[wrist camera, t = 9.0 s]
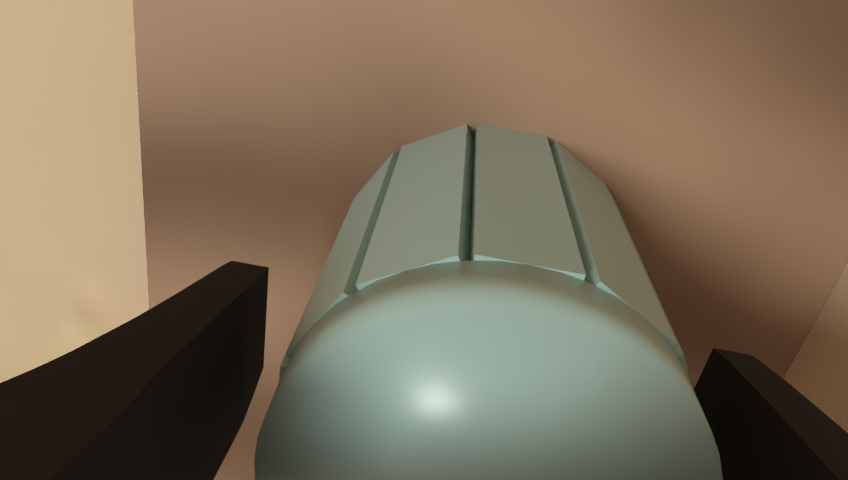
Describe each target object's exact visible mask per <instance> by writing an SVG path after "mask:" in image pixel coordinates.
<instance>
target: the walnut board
mask: <svg viewBox="0 0 848 480" xmlns="http://www.w3.org/2000/svg"><path fill="white" fill-rule="evenodd" d="M133 9H134V28H135V46H136V65H137V84H138V103H139V122H140V141H141V160H142V179H143V198H144V217H145V236H146V255H147V274H148V293H149V309H151V308H153V307H155V306H156V305H158V304H160V303H161V302H163V301H165V300H166V299H168V298H170V297H172V296H173V295H175V294H177V293H178V292H180V291H182V290H183V289H185V288H186V287H188V286H190V285H191V284H193V283H195V282H196V281H198V280H199V279H201V278H203V277H204V276H206V275H208V274H209V273H211V272H212V271H214V270H216V269H217V268H219V267H221V266H223V265H224V264H226V263H228V262H230V261H236V262H242V263H247V264H253V265H258V266H264V267H269V274H268V292H267V311H266V330H265V349H264V368H263V370H262V373H261V376H260V379H259V381H258V384H257V387H256V390H255V392H254V395H253V398H252V401H251V403H250V406H249V408H248V411H247V414H246V416H245V419H244V422H243V423H242V425H241V427H240V429H239V431H238V433H237V435H236V437H235V439H234V441H233V443H232V445H231V447H230V449H229V451H228V453H227V455H226V457H225V459H224V460H223V462H222V464H221V466H220V468H219V470H218V472H217V474H216V476H215V478H214V480H255V468H254V457H255V450H256V444H257V438H258V435H259V432H260V429H261V426H262V423H263V420H264V417H265V415H266V412H267V410H268V408H269V405H270V403H271V401H272V398H273V396H274V394H275V391H276V389H277V387H278V384H279V375H280V365H281V363H282V361H283V358H284V356H285V354H286V351H287V349H288V347H289V345H290V342H291V340H292V338H293V335H294V333H295V331H296V329H297V326H298V324H299V322H300V320H301V317H302V315H303V313H304V310H305V308H306V306H307V304H308V301H309V299H310V297H311V295H312V292H313V290H314V288H315V285H316V283H317V281H318V279H319V276H320V274H321V272H322V270H323V267H324V265H325V263H326V260H327V258H328V256H329V254H330V251H331V249H332V247H333V244H334V242H335V240H336V238H337V235H338V233H339V231H340V229H341V226H342V224H343V222H344V219H345V217H346V215H347V213H348V210H349V208H350V206H351V204H352V201H353V199H354V198H355V196H356V195H357V194H358V193H359V192H360V191H361V189H362V188H363V187H364V186H365V185H366V184H367V182H368V181H369V180H370V179H371V178H372V177H373V175H374V174H375V173H376V172H377V171H378V169H379V168H380V167H381V166H382V165H383V164H384V162H385V161H386V160H387V159H388V158H389V157H390V155H391V154H392V153H393V152H395V153H396V154H398V155H399V153H400V150H401V148H402V146H404V145H407V144H410V143H413V142H416V141H419V140H422V139H425V138H427V137H430V136H433V135H436V134H439V133H442V132H445V131H448V130H451V129H454V128H457V127H460V126H463V125H466V124H467V125H468V128H469V131H470V134H471V137H472V139H473V142H474V138H475V133H476V129H477V124H483V125H489V126H494V127H500V128H505V129H510V130H516V131H521V132H527V133H532V134H538V135H543V136H547V138H548V142H549V145H550V146H551V145H552V144H553V143H554V142H555V141H557V142H558V143H559V144H561V145H562V146H563V147H564V148H565V149H566V150H568V151H569V152H570V153H571V154H572V155H573V156H574V157H576V158H577V159H578V160H579V161H580V162H581V163H582V164H584V165H585V166H586V167H587V168H588V169H589V170H591V171H592V172H593V173H594V174H595V175H596V176H597V177H599V178H600V179H601V180H602V181H603V182H604V183H605V184H606V186H607V188H608V190H609V192H611V194H612V196H613V198H614V200H615V202H616V205H617V207H618V209H619V211H620V214H621V216H622V218H623V220H624V222H625V225H626V227H627V229H628V231H629V234H630V236H631V238H632V240H633V242H634V245H635V247H636V249H637V251H638V254H639V256H640V258H641V260H642V263H643V265H644V267H645V269H646V271H647V274H648V276H649V278H650V280H651V283H652V285H653V287H654V289H655V291H656V294H657V296H658V298H659V300H660V303H661V305H662V307H663V309H664V311H665V314H666V316H667V318H668V320H669V323H670V325H671V327H672V329H673V331H674V334H675V336H676V338H677V340H678V343H679V345H680V347H681V349H682V351H683V354H684V357H685V361H686V365H687V370H688V374H689V378H690V382H691V385H692V387H693V390H694V388H695V385H696V383H697V381H698V379H699V377H700V375H701V373H702V371H703V369H704V366H705V364H706V362H707V360H708V358H709V356H710V354H711V352H712V350H713V348H716V349H722V350H727V351H733V352H738V353H744V354H749V355H752V356H753V357H755V358H756V359H758V360H759V361H761V362H762V363H763V364H765V365H766V366H767V367H769V368H770V369H771V370H772V371H774V372H775V373H776V374H778V375H779V376H780V377H781V378H784V376H785V374H786V372H787V371H788V369H789V367H790V365H791V363H792V362H793V360H794V358H795V356H796V354H797V353H798V351H799V349H800V347H801V345H802V343H803V342H804V340H805V338H806V336H807V334H808V333H809V331H810V329H811V327H812V325H813V324H814V322H815V320H816V318H817V316H818V315H819V313H820V311H821V309H822V307H823V306H824V304H825V302H826V300H827V298H828V297H829V295H830V293H831V291H832V289H833V288H834V286H835V284H836V282H837V280H838V278H839V277H840V275H841V273H842V271H843V269H844V268H845V266H846V264H847V262H848V0H133Z"/></svg>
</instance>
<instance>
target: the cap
mask: <svg viewBox="0 0 848 480" xmlns="http://www.w3.org/2000/svg"><path fill="white" fill-rule="evenodd" d="M254 468H255V480H723V477H722V469H721V462H720V455H719V452H718V449H717V446H716V443H715V440H714V437H713V433H712V431H711V429H710V426H709V424H708V422H707V419H706V417H705V415H704V413H703V410H702V408H701V406H700V403H699V401H698V399H697V396H696V394H695V392H694V390H693V387H692V385H691V382H690V378H689V374H688V370H687V365H686V361H685V357H684V354H683V351H682V349H681V347H680V345H679V343H678V340H677V338H676V336H675V334H674V331H673V329H672V327H671V325H670V323H669V320H668V318H667V316H666V314H665V311H664V309H663V307H662V305H661V303H660V300H659V298H658V296H657V294H656V291H655V289H654V287H653V285H652V283H651V280H650V278H649V276H648V274H647V271H646V269H645V267H644V265H643V263H642V260H641V258H640V256H639V254H638V251H637V249H636V247H635V245H634V242H633V240H632V238H631V236H630V234H629V231H628V229H627V227H626V225H625V222H624V220H623V218H622V216H621V214H620V211H619V209H618V207H617V205H616V202H615V200H614V198H613V196H612V194H611V192H609V190H608V188H607V186H606V184H605V183H604V182H603V181H602V180H601V179H600V178H599V177H597V176H596V175H595V174H594V173H593V172H592V171H591V170H589V169H588V168H587V167H586V166H585V165H584V164H582V163H581V162H580V161H579V160H578V159H577V158H576V157H574V156H573V155H572V154H571V153H570V152H569V151H568V150H566V149H565V148H564V147H563V146H562V145H561V144H559V143H558V142H557V141H555V142H554V143H553V144H552V145H551V146H550V145H549V142H548V138H547V136H543V135H538V134H532V133H527V132H521V131H516V130H510V129H505V128H500V127H494V126H489V125H483V124H477V129H476V133H475V138H474V142H473V139H472V137H471V134H470V131H469V128H468V125H467V124H466V125H463V126H460V127H457V128H454V129H451V130H448V131H445V132H442V133H439V134H436V135H433V136H430V137H427V138H425V139H422V140H419V141H416V142H413V143H410V144H407V145H404V146H402V148H401V150H400V153H399V155H398V154H396V153H395V152H393V153H392V154H391V155H390V157H389V158H388V159H387V160H386V161H385V162H384V164H383V165H382V166H381V167H380V168H379V169H378V171H377V172H376V173H375V174H374V175H373V177H372V178H371V179H370V180H369V181H368V182H367V184H366V185H365V186H364V187H363V188H362V189H361V191H360V192H359V193H358V194H357V195H356V196H355V198H354V199H353V201H352V204H351V206H350V208H349V210H348V213H347V215H346V217H345V219H344V222H343V224H342V226H341V229H340V231H339V233H338V235H337V238H336V240H335V242H334V244H333V247H332V249H331V251H330V254H329V256H328V258H327V260H326V263H325V265H324V267H323V270H322V272H321V274H320V276H319V279H318V281H317V283H316V285H315V288H314V290H313V292H312V295H311V297H310V299H309V301H308V304H307V306H306V308H305V310H304V313H303V315H302V317H301V320H300V322H299V324H298V326H297V329H296V331H295V333H294V335H293V338H292V340H291V342H290V345H289V347H288V349H287V351H286V354H285V356H284V358H283V361H282V363H281V365H280V375H279V384H278V387H277V389H276V391H275V394H274V396H273V398H272V401H271V403H270V405H269V408H268V410H267V412H266V415H265V417H264V420H263V423H262V426H261V429H260V432H259V435H258V438H257V444H256V450H255V457H254Z"/></svg>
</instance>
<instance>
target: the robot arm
mask: <svg viewBox="0 0 848 480" xmlns="http://www.w3.org/2000/svg"><path fill="white" fill-rule="evenodd" d="M268 274H269V267H264V266H258V265H253V264H247V263H242V262H236V261H230V262H228V263H226V264H224V265H223V266H221V267H219V268H217V269H216V270H214V271H212V272H211V273H209V274H208V275H206V276H204V277H203V278H201V279H199V280H198V281H196V282H195V283H193V284H191V285H190V286H188V287H186V288H185V289H183V290H182V291H180V292H178V293H177V294H175V295H173V296H172V297H170V298H168V299H166V300H165V301H163V302H161V303H160V304H158V305H156V306H155V307H153V308H151V309H149V310H148V311H146V312H144V313H143V314H141V315H139V316H138V317H136V318H134V319H132V320H130V321H128V322H126V323H125V324H123V325H121V326H119V327H117V328H115V329H113V330H111V331H109V332H108V333H106V334H104V335H102V336H100V337H98V338H96V339H94V340H92V341H90V342H89V343H87V344H85V345H83V346H81V347H79V348H77V349H75V350H73V351H71V352H69V353H67V354H65V355H63V356H61V357H59V358H57V359H55V360H52V361H50V362H48V363H46V364H44V365H41V366H39V367H37V368H35V369H33V370H30V371H28V372H26V373H23V374H21V375H19V376H16V377H14V378H11V379H9V380H7V381H4V382H2V383H0V480H214V478H215V476H216V474H217V472H218V470H219V468H220V466H221V464H222V462H223V460H224V459H225V457H226V455H227V453H228V451H229V449H230V447H231V445H232V443H233V441H234V439H235V437H236V435H237V433H238V431H239V429H240V427H241V425H242V423H243V422H244V419H245V416H246V414H247V411H248V408H249V406H250V403H251V401H252V398H253V395H254V392H255V390H256V387H257V384H258V381H259V379H260V376H261V373H262V370H263V368H264V349H265V330H266V311H267V292H268ZM694 392H695V394H696V396H697V399H698V401H699V403H700V406H701V408H702V410H703V413H704V415H705V417H706V419H707V422H708V424H709V426H710V429H711V431H712V433H713V437H714V440H715V443H716V446H717V449H718V452H719V455H720V462H721V469H722V477H723V480H848V433H847V432H846V431H844V430H843V429H842V428H841V427H840V426H839V425H837V424H836V423H835V422H834V421H833V420H831V419H830V418H829V417H828V416H827V415H826V414H824V413H823V412H822V411H821V410H820V409H818V408H817V407H816V406H815V405H814V404H813V403H811V402H810V401H809V400H808V399H807V398H805V397H804V396H803V395H802V394H801V393H799V392H798V391H797V390H796V389H795V388H793V387H792V386H791V385H790V384H789V383H787V382H786V381H785V380H784V379H783V378H781V377H780V376H779V375H778V374H776V373H775V372H774V371H772V370H771V369H770V368H769V367H767V366H766V365H765V364H763V363H762V362H761V361H759V360H758V359H756V358H755V357H753V356H752V355H749V354H744V353H738V352H733V351H727V350H722V349H716V348H713V350H712V352H711V354H710V356H709V358H708V360H707V362H706V364H705V366H704V369H703V371H702V373H701V375H700V377H699V379H698V381H697V383H696V385H695V388H694Z"/></svg>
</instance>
